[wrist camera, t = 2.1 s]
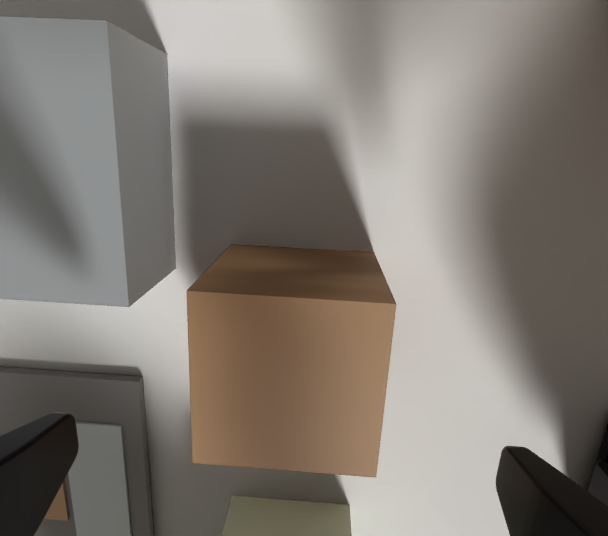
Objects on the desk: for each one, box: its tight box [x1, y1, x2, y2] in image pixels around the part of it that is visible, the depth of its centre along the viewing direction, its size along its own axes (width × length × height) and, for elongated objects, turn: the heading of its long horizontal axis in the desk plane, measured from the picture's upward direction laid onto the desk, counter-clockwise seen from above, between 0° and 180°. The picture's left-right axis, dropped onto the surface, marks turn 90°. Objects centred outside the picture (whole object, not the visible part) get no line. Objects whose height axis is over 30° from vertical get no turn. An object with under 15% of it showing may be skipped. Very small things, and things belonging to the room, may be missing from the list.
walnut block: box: [187, 244, 396, 477], centre depth 13 cm, size 5×5×5 cm
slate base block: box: [0, 16, 176, 307], centre depth 13 cm, size 7×7×4 cm
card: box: [0, 367, 154, 536], centre depth 18 cm, size 8×10×1 cm
